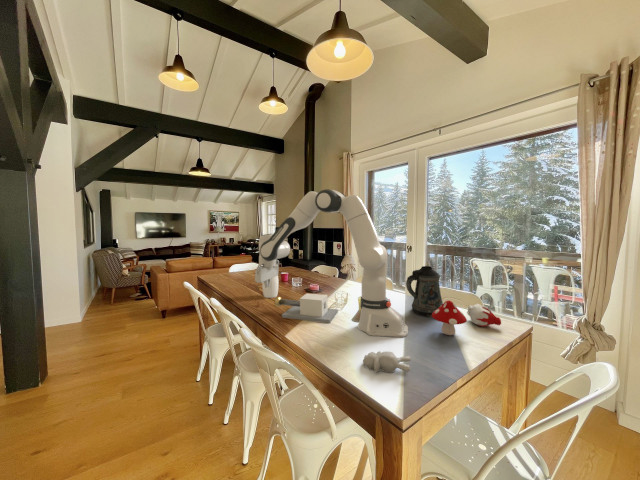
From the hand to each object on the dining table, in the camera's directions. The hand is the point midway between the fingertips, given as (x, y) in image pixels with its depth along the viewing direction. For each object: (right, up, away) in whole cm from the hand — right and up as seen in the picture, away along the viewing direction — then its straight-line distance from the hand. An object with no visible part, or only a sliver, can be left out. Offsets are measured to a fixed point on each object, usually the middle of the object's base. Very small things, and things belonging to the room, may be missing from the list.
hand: (267, 287), depth 143 cm
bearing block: (+25, -14, -7) cm, 29 cm away
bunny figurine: (+52, -17, -58) cm, 80 cm away
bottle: (-4, -12, +28) cm, 31 cm away
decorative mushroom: (+86, -15, -32) cm, 93 cm away
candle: (+107, -14, -22) cm, 110 cm away
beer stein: (+87, -13, -6) cm, 88 cm away
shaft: (+14, -11, -4) cm, 18 cm away
